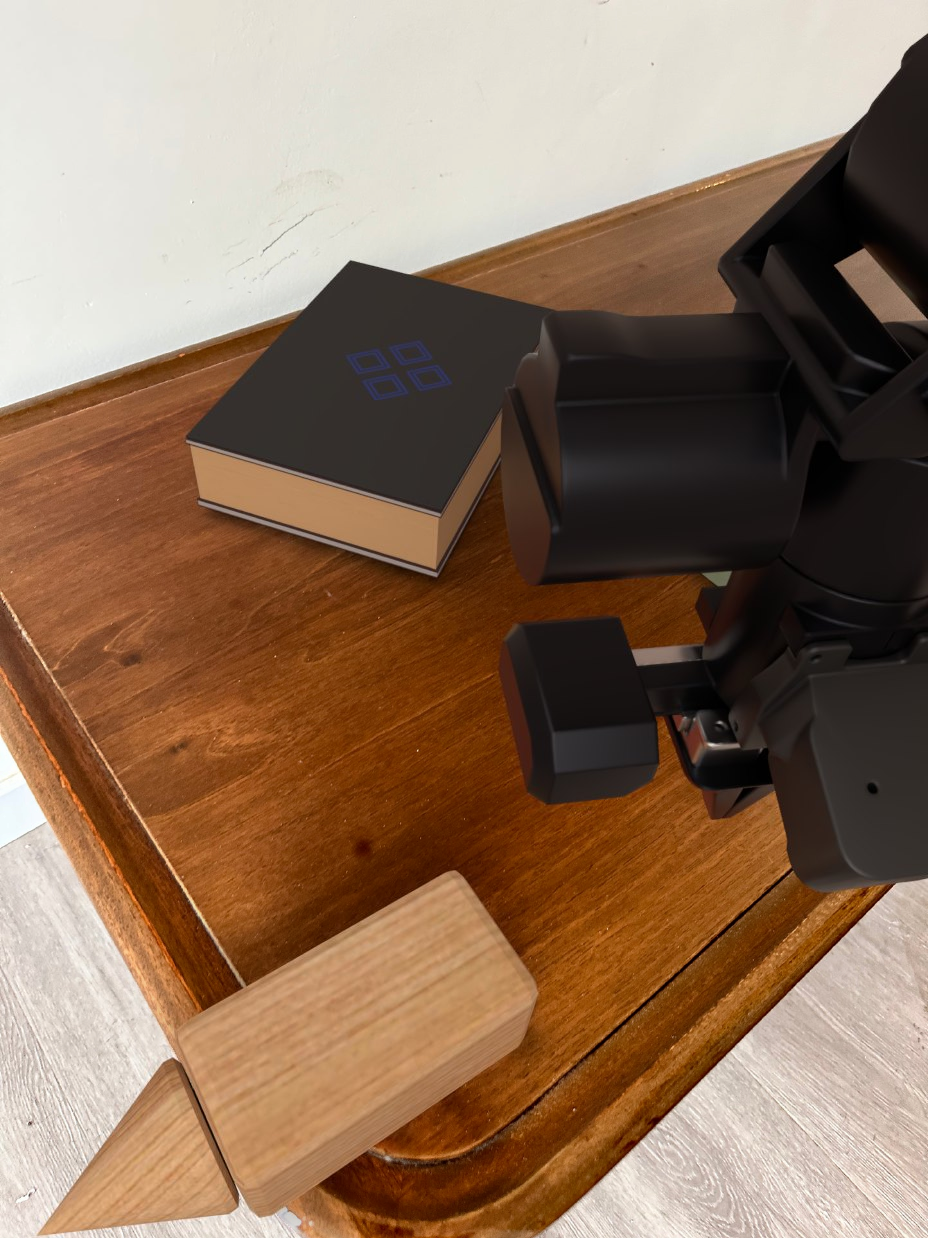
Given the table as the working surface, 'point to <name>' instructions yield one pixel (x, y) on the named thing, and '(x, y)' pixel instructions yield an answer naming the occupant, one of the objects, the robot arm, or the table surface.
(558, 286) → the table surface
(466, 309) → the book
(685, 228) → the table surface
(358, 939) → the decorative item
